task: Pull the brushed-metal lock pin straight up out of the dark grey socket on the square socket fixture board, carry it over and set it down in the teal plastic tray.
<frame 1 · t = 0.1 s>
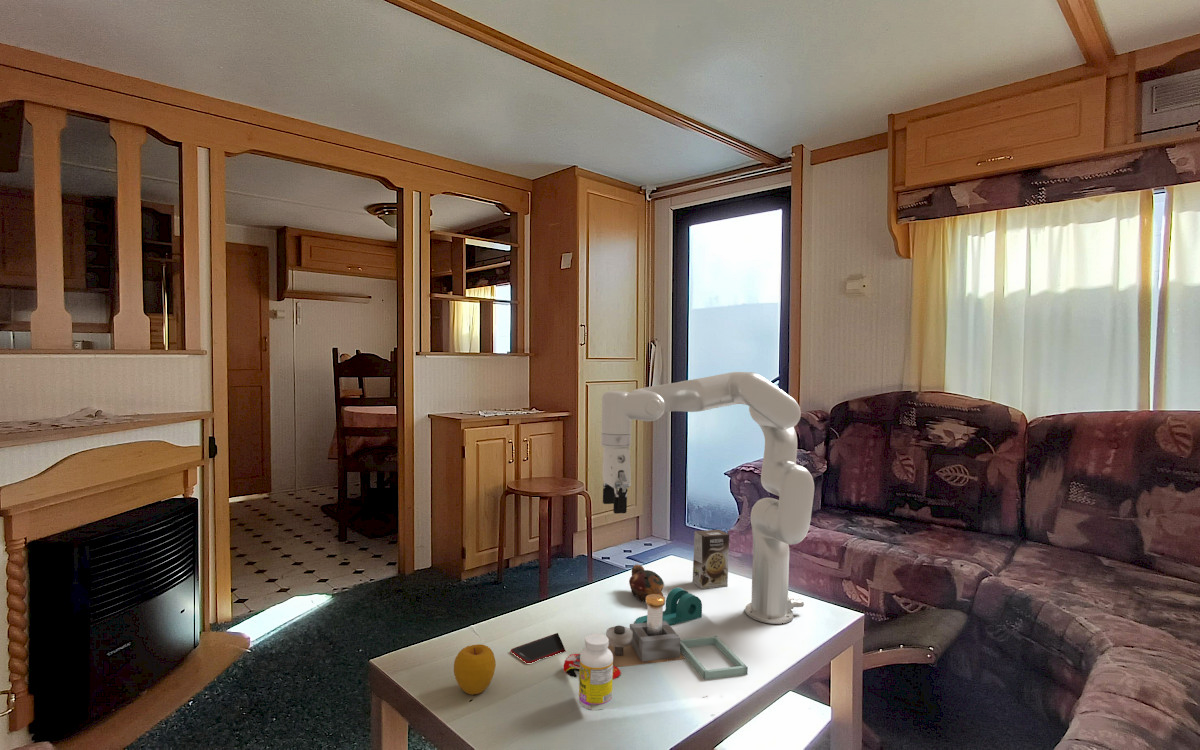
hand: (614, 508, 151), 31 cm above the table, tool pointing down, fingers open, 9 cm apart
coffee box: (710, 584, 186), on the table
tray: (710, 666, 135), on the table
bracket: (666, 626, 156), on the table
cell phone: (544, 651, 142), on the table
square socket fixture board: (641, 657, 139), on the table
apple: (474, 690, 124), on the table
race car: (592, 677, 130), on the table
lock pin: (654, 649, 139), point 1 cm above the table, touching square socket fixture board
supplement bottle: (595, 703, 120), on the table
green brown ocarina: (646, 598, 174), on the table
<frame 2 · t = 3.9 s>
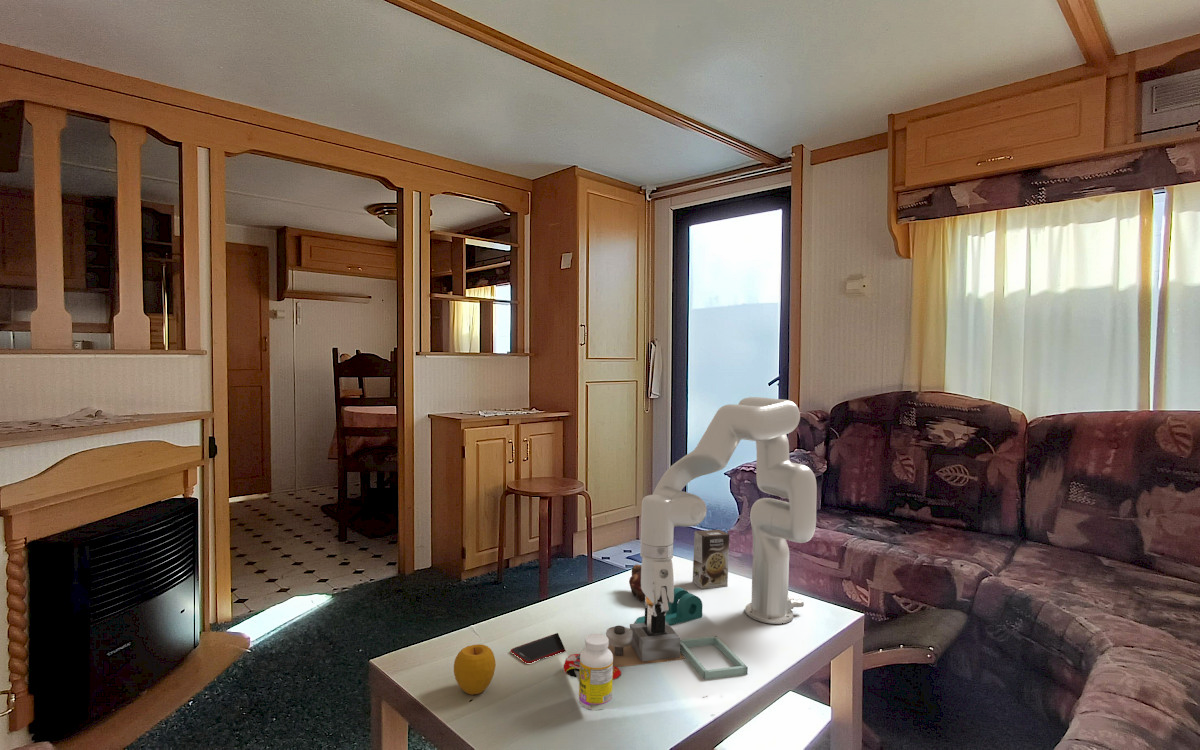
hand: (654, 627, 139), 7 cm above the table, tool pointing down, fingers closed on lock pin, 3 cm apart
lock pin: (654, 649, 139), point 2 cm above the table, touching gripper, square socket fixture board
everything else where it was.
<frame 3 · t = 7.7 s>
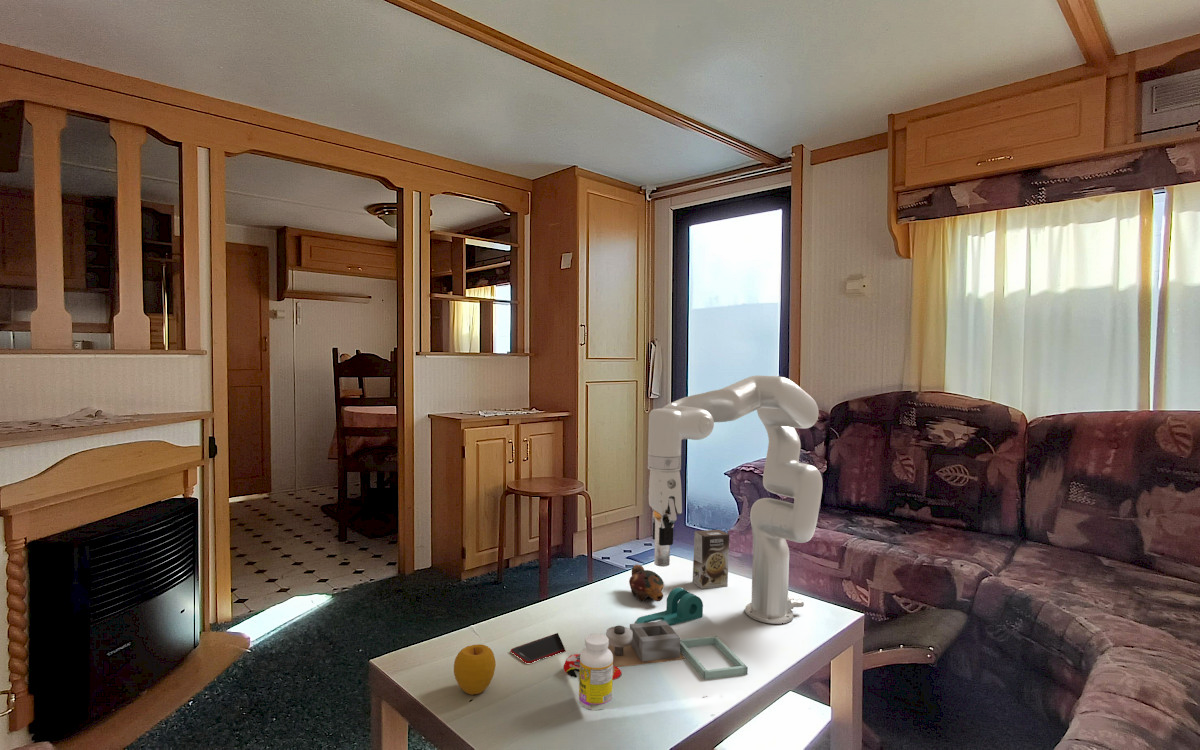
hand: (662, 541, 138), 27 cm above the table, tool pointing down, fingers closed on lock pin, 3 cm apart
lock pin: (661, 563, 139), point 22 cm above the table, touching gripper
everything else where it was.
when the fingers open (8 cm above the table, at t = 11.4 s): lock pin stays where it is, resting on tray.
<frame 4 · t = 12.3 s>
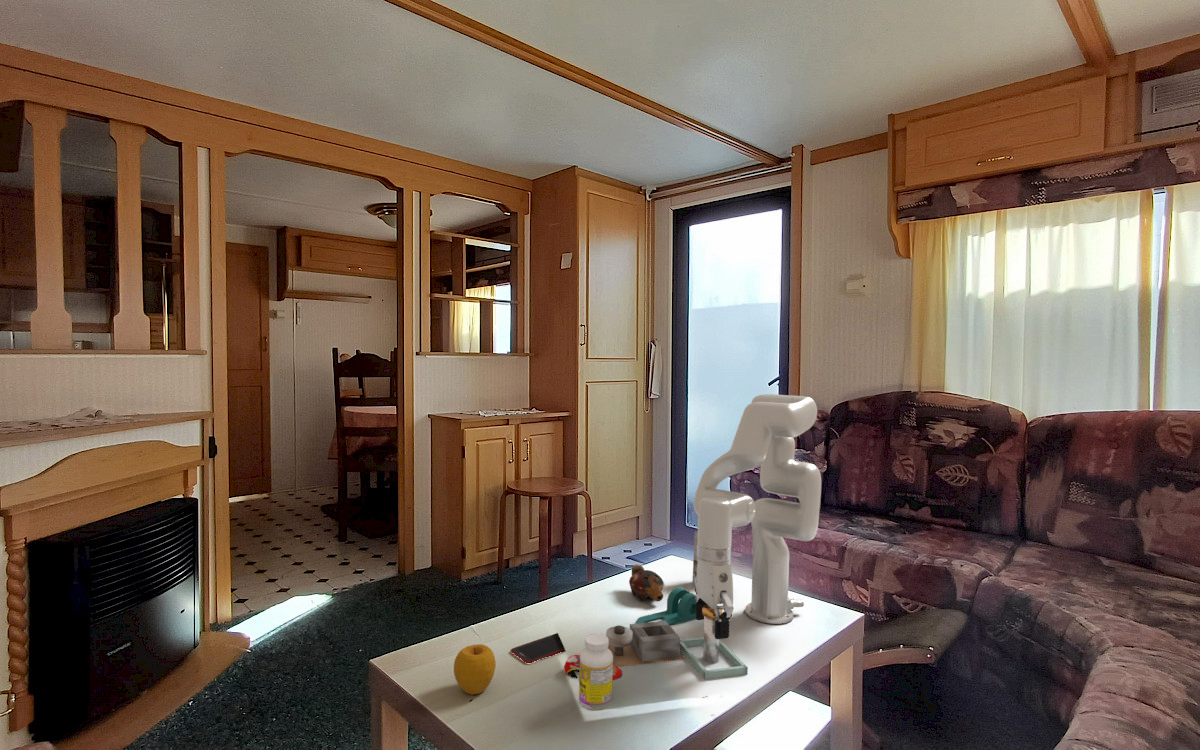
hand: (711, 628, 135), 9 cm above the table, tool pointing down, fingers open, 9 cm apart
lock pin: (710, 662, 136), point 1 cm above the table, touching tray
everything else where it was.
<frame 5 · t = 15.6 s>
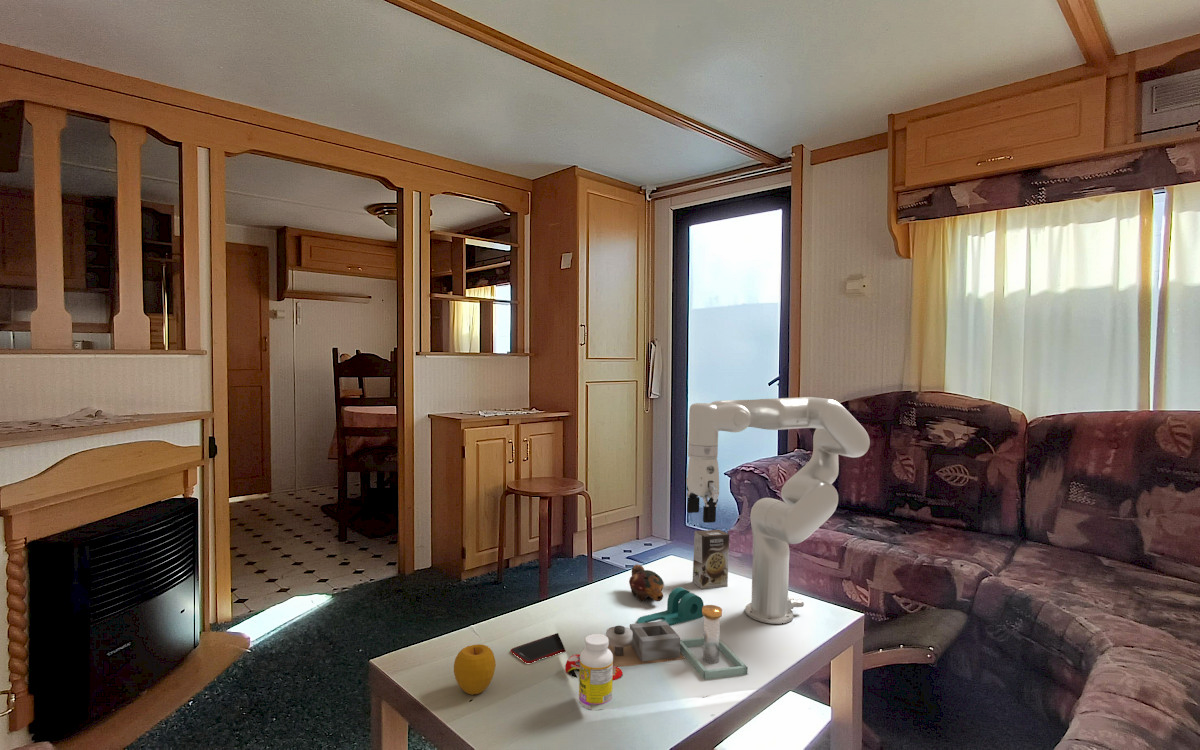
hand: (700, 517, 156), 28 cm above the table, tool pointing down, fingers open, 9 cm apart
nothing on the table moved.
at the end: lock pin inside the target area on the tray (0.0 cm from its centre), point 0.8 cm above the tray's base; the gripper is holding nothing; lock pin moved 13.1 cm from its start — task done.
